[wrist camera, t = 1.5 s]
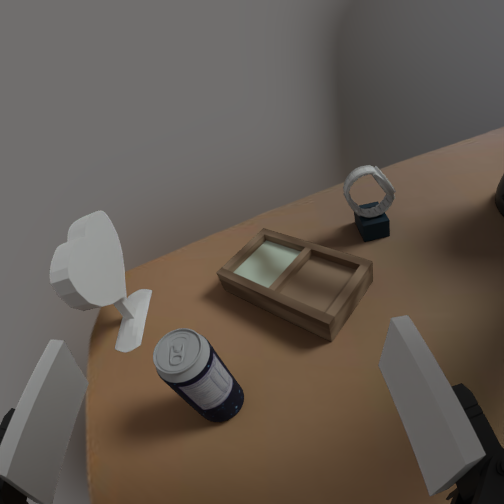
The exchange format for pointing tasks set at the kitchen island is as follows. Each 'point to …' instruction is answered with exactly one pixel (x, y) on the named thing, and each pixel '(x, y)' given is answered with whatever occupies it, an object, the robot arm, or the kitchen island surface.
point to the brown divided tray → (298, 281)
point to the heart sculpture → (98, 276)
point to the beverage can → (198, 374)
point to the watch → (371, 205)
